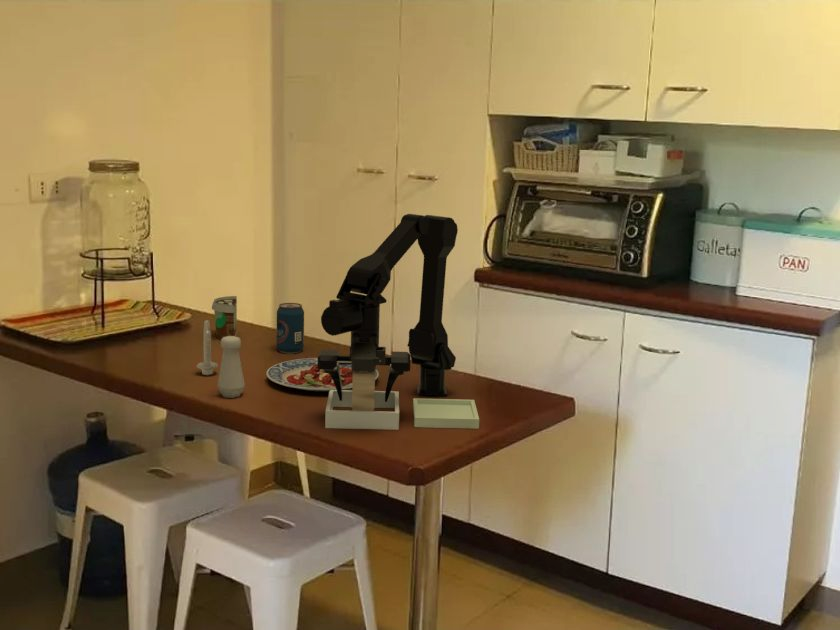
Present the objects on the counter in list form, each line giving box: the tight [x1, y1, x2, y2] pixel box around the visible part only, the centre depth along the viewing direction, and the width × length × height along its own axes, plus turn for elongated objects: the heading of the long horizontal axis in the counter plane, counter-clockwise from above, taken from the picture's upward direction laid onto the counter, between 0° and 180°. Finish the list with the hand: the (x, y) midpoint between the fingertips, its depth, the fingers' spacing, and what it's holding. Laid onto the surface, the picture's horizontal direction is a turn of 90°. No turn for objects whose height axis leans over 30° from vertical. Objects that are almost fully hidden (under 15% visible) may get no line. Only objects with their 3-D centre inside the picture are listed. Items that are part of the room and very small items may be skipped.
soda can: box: [276, 302, 305, 355], centre depth 256 cm, size 7×7×12 cm
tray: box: [412, 397, 480, 430], centre depth 209 cm, size 13×13×2 cm
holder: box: [324, 389, 400, 431], centre depth 207 cm, size 15×15×4 cm
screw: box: [196, 319, 219, 376], centre depth 233 cm, size 13×5×5 cm
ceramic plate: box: [266, 357, 379, 392], centre depth 232 cm, size 26×26×3 cm
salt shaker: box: [217, 335, 246, 399], centre depth 218 cm, size 6×6×13 cm
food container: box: [211, 295, 238, 341], centre depth 268 cm, size 12×6×10 cm, turn 6°
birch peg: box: [351, 371, 376, 411], centre depth 206 cm, size 4×4×10 cm
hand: (363, 400), depth 207 cm, fingers open, 9 cm apart
